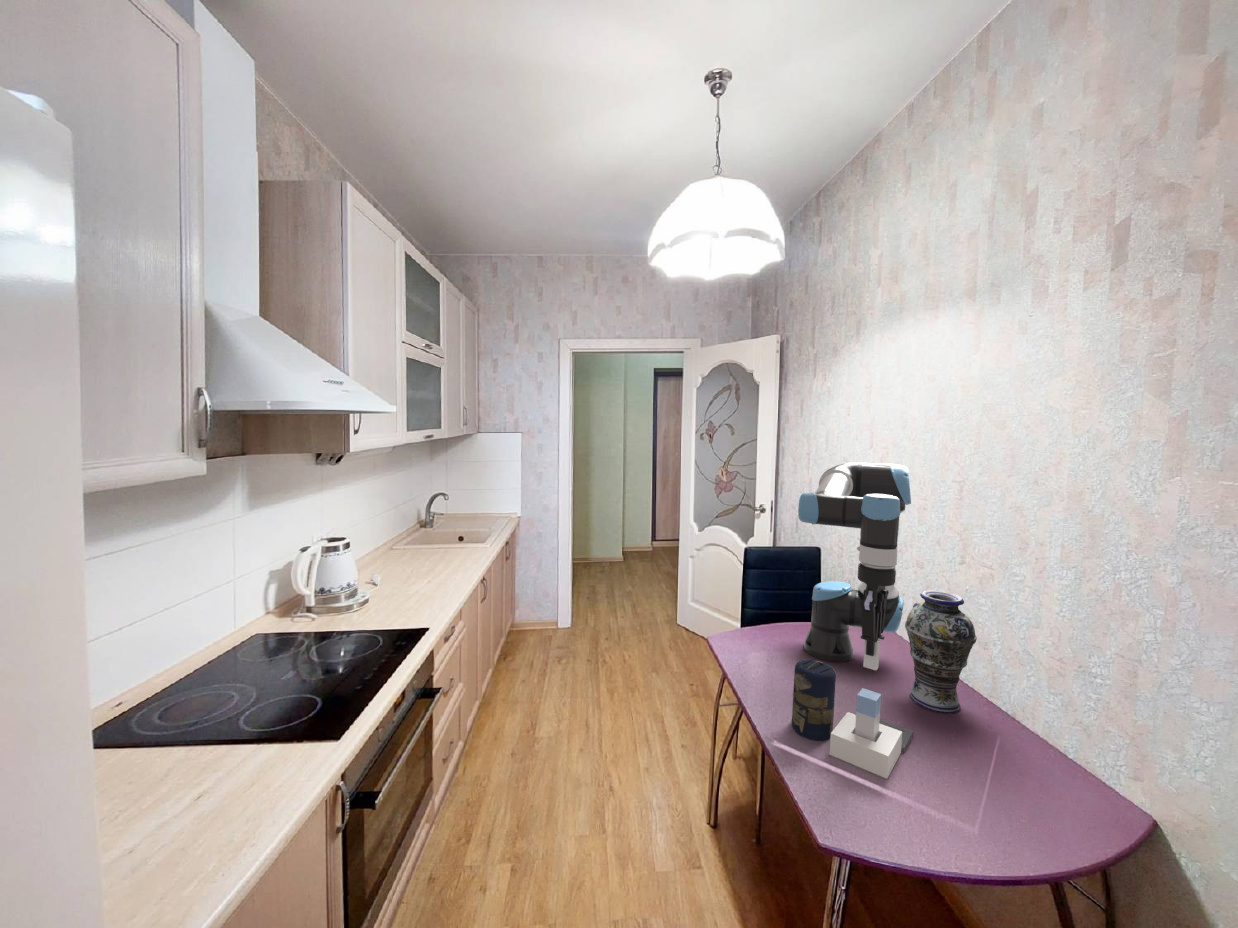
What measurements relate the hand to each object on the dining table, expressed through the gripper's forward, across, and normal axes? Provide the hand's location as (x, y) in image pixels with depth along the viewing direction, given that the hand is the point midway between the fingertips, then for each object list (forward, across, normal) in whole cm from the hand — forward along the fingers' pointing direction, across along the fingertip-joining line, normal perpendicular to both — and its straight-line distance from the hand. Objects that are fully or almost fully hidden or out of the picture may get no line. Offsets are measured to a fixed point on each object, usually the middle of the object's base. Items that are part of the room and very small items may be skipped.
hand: (870, 667), depth 118 cm
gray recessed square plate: (+21, -11, +2) cm, 24 cm away
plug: (+20, 0, 0) cm, 20 cm away
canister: (+22, -1, -13) cm, 25 cm away
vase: (+22, -39, +7) cm, 45 cm away
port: (+21, 0, 0) cm, 21 cm away
